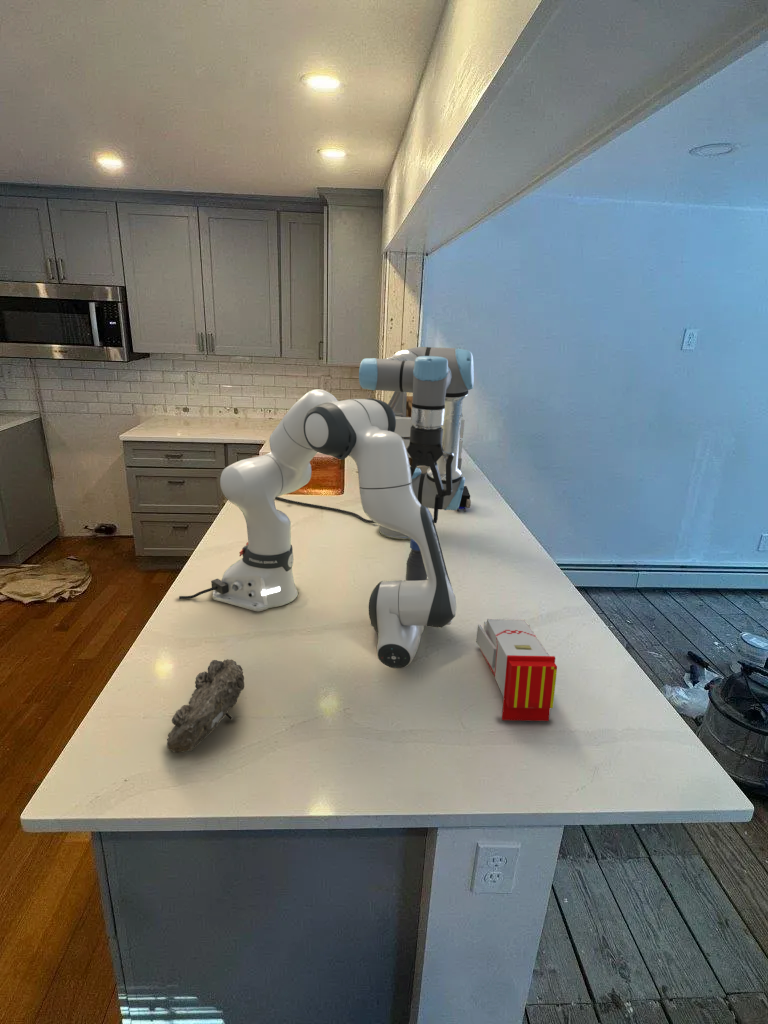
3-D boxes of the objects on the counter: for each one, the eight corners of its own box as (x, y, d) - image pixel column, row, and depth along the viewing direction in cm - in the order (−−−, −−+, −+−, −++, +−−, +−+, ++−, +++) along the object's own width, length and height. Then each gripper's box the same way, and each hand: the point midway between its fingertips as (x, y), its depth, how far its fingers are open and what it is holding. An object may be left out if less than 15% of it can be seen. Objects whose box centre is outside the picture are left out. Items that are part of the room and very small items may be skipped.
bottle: (399, 614, 147) (403, 540, 140) (413, 608, 151) (418, 535, 144) (413, 623, 144) (419, 546, 136) (428, 616, 147) (434, 541, 140)
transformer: (382, 463, 289) (386, 382, 275) (445, 464, 293) (451, 384, 279) (390, 482, 257) (394, 392, 243) (460, 483, 261) (468, 394, 247)
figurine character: (470, 516, 223) (465, 500, 237) (473, 499, 220) (467, 484, 233) (453, 516, 223) (449, 500, 236) (455, 498, 220) (451, 483, 233)
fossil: (192, 660, 117) (244, 628, 112) (224, 691, 120) (276, 661, 115) (142, 746, 98) (202, 712, 93) (182, 779, 101) (242, 748, 96)
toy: (523, 604, 135) (566, 662, 106) (518, 656, 138) (559, 727, 109) (472, 603, 135) (501, 661, 105) (468, 655, 138) (496, 726, 108)
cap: (406, 546, 141) (406, 538, 140) (418, 542, 143) (418, 534, 143) (418, 552, 138) (419, 544, 137) (430, 547, 141) (431, 540, 140)
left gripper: (451, 614, 130) (457, 587, 143) (365, 601, 134) (377, 576, 147) (449, 638, 132) (454, 609, 145) (364, 625, 136) (376, 598, 149)
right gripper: (470, 426, 132) (461, 518, 140) (388, 419, 136) (384, 510, 143) (468, 432, 125) (459, 529, 133) (382, 425, 129) (378, 520, 136)
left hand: (415, 592), depth 146 cm, fingers open, 8 cm apart
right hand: (420, 519), depth 138 cm, fingers open, 7 cm apart
